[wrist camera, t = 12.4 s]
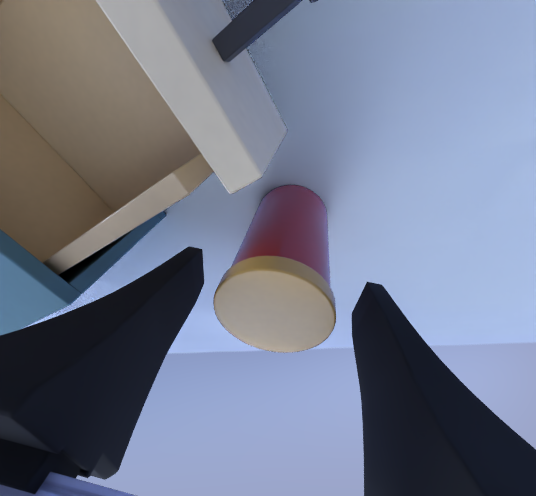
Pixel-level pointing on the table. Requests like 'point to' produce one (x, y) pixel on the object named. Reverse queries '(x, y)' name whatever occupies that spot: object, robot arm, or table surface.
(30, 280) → the cabinet
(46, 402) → the robot arm
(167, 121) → the drawer
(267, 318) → the tea tin
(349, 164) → the table surface
